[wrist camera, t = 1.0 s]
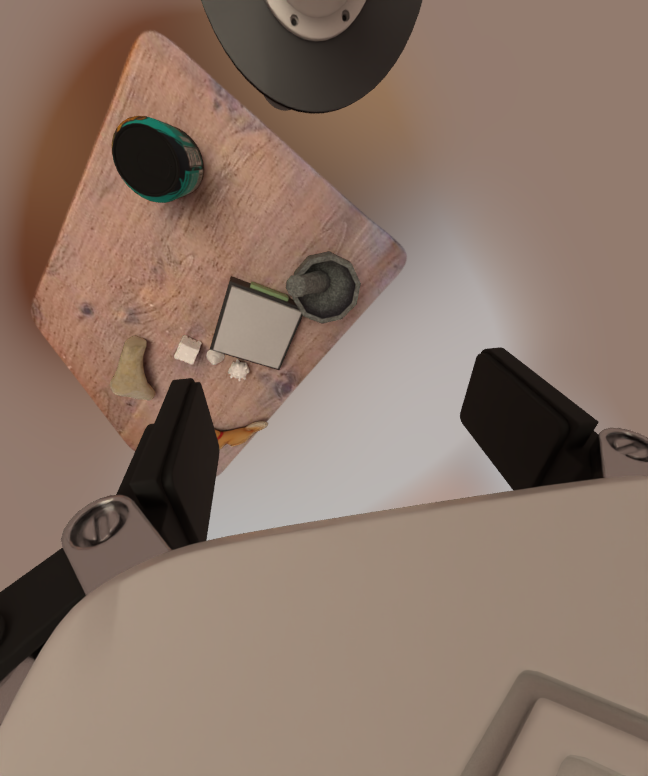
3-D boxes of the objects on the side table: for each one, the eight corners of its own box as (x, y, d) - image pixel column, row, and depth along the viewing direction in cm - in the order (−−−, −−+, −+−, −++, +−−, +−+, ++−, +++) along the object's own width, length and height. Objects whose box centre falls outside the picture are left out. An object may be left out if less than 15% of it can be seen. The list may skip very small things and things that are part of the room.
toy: (197, 447, 68) (183, 432, 65) (272, 423, 66) (261, 407, 63) (194, 460, 66) (179, 445, 63) (271, 435, 63) (260, 419, 60)
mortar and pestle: (360, 261, 51) (383, 285, 41) (333, 314, 55) (348, 347, 45) (294, 228, 46) (303, 246, 37) (271, 288, 51) (273, 318, 41)
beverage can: (144, 114, 37) (102, 98, 28) (207, 139, 39) (189, 132, 30) (142, 183, 41) (105, 189, 31) (200, 202, 43) (182, 214, 33)
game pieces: (177, 349, 54) (173, 358, 52) (183, 333, 53) (179, 342, 50) (244, 375, 59) (243, 385, 56) (252, 361, 58) (251, 371, 55)
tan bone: (158, 393, 58) (150, 409, 54) (119, 391, 57) (108, 408, 53) (149, 336, 52) (139, 351, 48) (106, 333, 51) (92, 347, 47)
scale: (232, 272, 49) (230, 278, 46) (305, 300, 53) (307, 307, 50) (211, 342, 54) (209, 351, 52) (278, 363, 59) (279, 372, 56)
